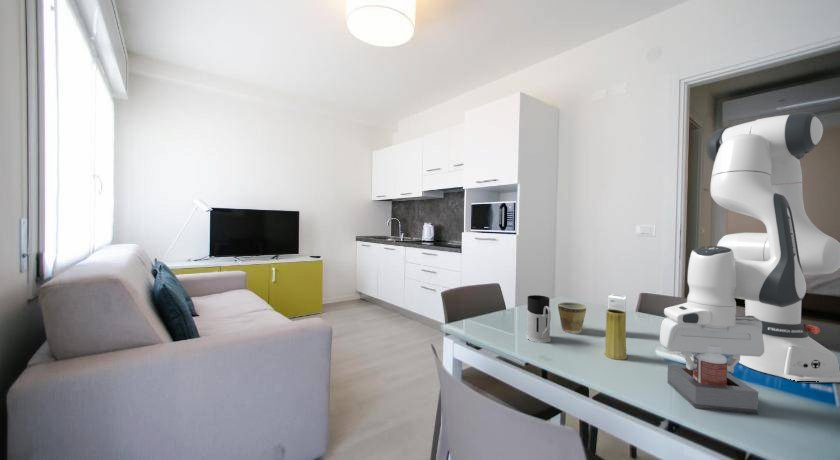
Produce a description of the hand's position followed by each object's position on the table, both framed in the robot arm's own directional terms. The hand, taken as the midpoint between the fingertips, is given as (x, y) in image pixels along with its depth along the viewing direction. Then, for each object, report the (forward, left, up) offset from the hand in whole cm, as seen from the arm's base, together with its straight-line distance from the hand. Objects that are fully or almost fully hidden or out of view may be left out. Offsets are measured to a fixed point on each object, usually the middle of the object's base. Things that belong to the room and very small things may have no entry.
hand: (709, 370), depth 80 cm
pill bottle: (0, 0, -5) cm, 5 cm away
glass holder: (+34, -31, -7) cm, 47 cm away
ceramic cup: (+21, -46, -7) cm, 51 cm away
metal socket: (0, 0, -7) cm, 7 cm away
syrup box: (+5, -44, -7) cm, 45 cm away
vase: (+13, -22, -7) cm, 26 cm away
